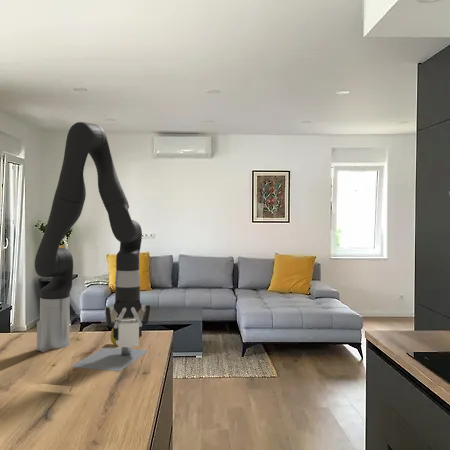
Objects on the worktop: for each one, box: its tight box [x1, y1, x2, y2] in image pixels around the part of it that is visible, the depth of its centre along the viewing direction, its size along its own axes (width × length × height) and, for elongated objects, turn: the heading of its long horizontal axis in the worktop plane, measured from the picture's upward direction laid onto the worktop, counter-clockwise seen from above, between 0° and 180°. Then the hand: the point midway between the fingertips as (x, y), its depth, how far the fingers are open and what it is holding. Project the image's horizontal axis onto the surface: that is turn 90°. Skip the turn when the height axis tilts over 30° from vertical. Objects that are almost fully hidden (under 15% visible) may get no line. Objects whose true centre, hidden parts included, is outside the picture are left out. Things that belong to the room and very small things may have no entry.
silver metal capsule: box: [120, 346, 133, 356], centre depth 154 cm, size 3×3×6 cm
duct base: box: [70, 346, 149, 372], centre depth 150 cm, size 15×22×2 cm
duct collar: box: [116, 318, 140, 348], centre depth 154 cm, size 6×6×7 cm
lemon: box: [110, 328, 118, 346], centre depth 167 cm, size 6×6×8 cm
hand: (127, 339), depth 154 cm, fingers closed on duct collar, 6 cm apart
